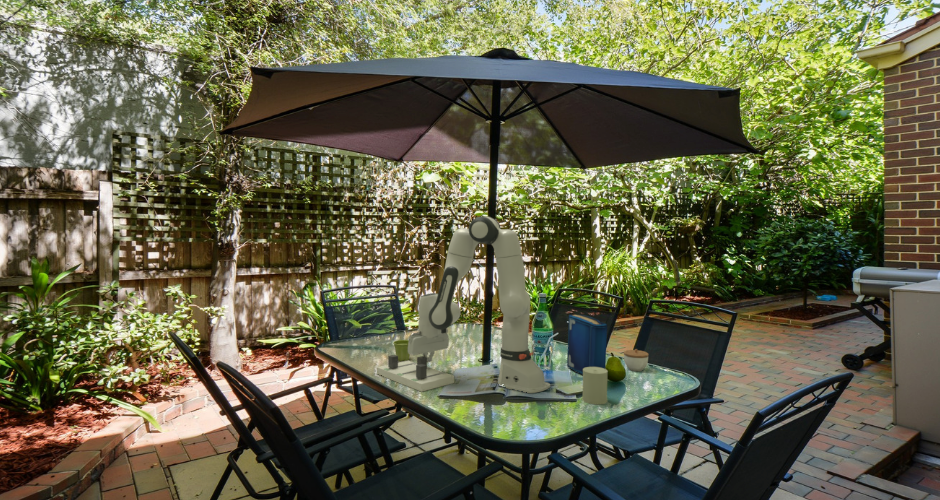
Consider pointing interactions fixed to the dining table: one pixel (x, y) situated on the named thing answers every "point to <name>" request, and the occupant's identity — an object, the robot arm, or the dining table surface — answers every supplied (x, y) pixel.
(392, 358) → the switch
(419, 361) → the middle switch
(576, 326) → the book
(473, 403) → the dining table surface
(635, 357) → the lidded jar
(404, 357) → the plant pot
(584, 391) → the can
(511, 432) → the dining table surface
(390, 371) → the switch panel
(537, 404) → the dining table surface
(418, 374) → the switch
